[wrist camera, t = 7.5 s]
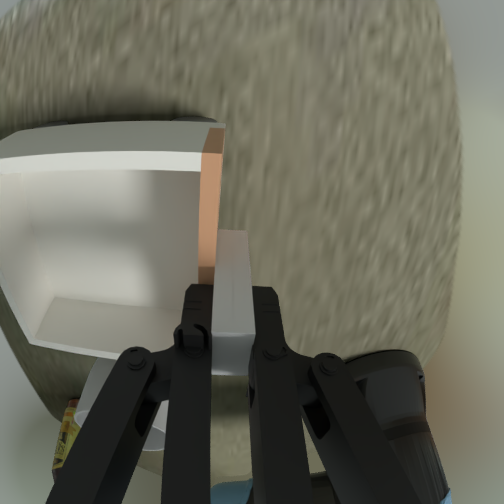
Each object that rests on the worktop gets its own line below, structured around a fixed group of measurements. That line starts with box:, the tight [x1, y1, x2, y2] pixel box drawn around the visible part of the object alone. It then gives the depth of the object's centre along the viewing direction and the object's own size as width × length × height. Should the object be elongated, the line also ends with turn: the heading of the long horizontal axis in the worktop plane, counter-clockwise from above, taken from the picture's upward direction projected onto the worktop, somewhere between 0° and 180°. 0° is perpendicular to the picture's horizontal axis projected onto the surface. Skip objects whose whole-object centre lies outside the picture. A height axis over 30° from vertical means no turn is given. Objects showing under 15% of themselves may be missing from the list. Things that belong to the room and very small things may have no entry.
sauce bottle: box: [52, 399, 81, 483], centre depth 29 cm, size 6×6×20 cm
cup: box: [74, 357, 169, 451], centre depth 23 cm, size 8×8×10 cm
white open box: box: [0, 117, 226, 360], centre depth 16 cm, size 12×12×8 cm
